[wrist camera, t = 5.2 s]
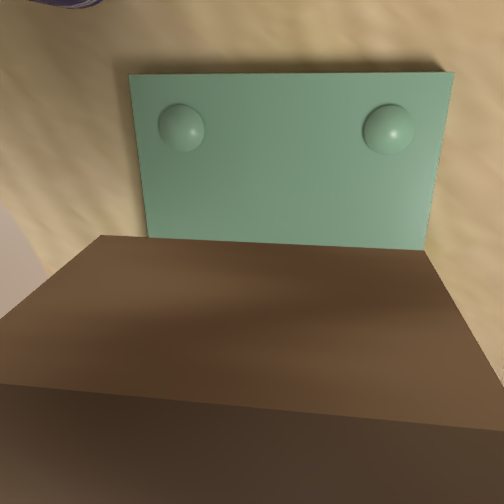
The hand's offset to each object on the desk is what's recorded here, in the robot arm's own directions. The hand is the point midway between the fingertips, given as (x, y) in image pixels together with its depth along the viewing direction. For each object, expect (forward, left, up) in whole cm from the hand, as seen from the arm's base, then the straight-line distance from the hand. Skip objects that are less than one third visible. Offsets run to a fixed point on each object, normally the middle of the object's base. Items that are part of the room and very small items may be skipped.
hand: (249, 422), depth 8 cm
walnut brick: (0, 0, -1) cm, 1 cm away
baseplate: (0, 0, -12) cm, 12 cm away
